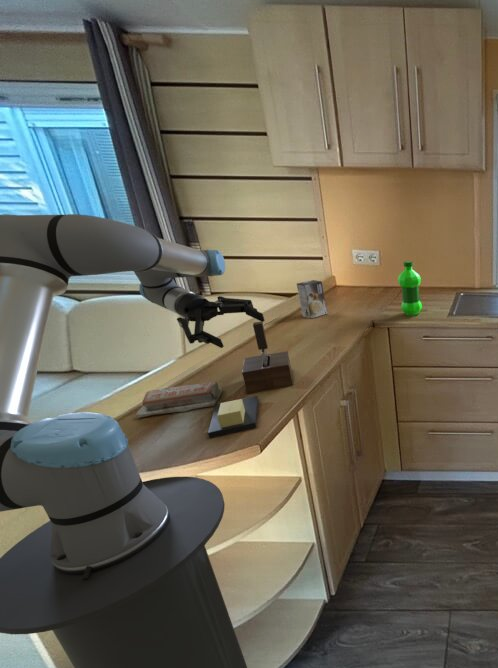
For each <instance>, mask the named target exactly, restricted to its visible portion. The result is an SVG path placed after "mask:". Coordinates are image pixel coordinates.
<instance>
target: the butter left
mask: <svg viewBox="0 0 498 668" xmlns="http://www.w3.org/2000/svg"><path fill="white" fill-rule="evenodd" d="M231 401H232V400H228V401H223V403H222V402H220V403H221V404H220V408H219V412H218V415H217V416H218V419H219V423H220V426H221V428H223V427H228V426H232V423H231V419H230V415H229V411H230V406H231Z"/></svg>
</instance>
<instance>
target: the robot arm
mask: <svg viewBox="0 0 498 668" xmlns="http://www.w3.org/2000/svg"><path fill="white" fill-rule="evenodd" d="M124 272H125V273H126V272H133V273H134V275H135V276H136V277H137V279H138V281H139V282H140V284H139V294H140V295H141V296H142V297H143V298H144V299H146V300H147V301H149V302H150V303H152V304H154V305H157V306H160V307H161V308H164V309H166V310H168V311H170V312H172V313H175V314H177V315H179V316H181V317H177V318H176V321H177V323H178V325H179V327H180V328H182V330H183V332H184V334H185V337H186V339H187V341H188V343H189V344H194V343H195V342H196V341H197V343H198V344H202V343H204V344H207V345H208V344H212V345H214V346H216V347H218V348H220V349H223V348H224V344H223V341H222V339H221V338H219V337H217V336H215V335H213V334H211V333H209V332H207V331H206V330H205V331H204V326H205V322H208V321H210V320H211V319H213V318H216V317H217V316H224V315H225V314H241V313H245V315H247V316H248V317H251V318H253V319H255V320H257V321H258V322H263V323H264V322H265V317H264V314H263V313H262V312H260V311H258V309H257V308H256V307H254V304H253V301H252V300H251V299H243V298H231V297H225V296H222V295H219V296H217V297H216V298H217V299H216V300H215V301H210V300H209V299H206V297H204V296H202V295H199V294H197V293H195V292H193V291H191V290H189V289H186V288H184V287H181V286H179V285H178V284H177V283H176V281H175V279H176V278H179V279H180V278H199V277H200V278H201V277H215V276H216V277H217V276H222V275H224V274H225V272H226V262H225V258H224V255H223V254H222V252H221V251H220V250H218V249H197V248H193V247H190V246H187V245H184V244H180V243H177V242H173V241H171V240H166V239H163V238H160V237H157V236H156V235H155V234H154V233H153V232H151V231H150V230H148V229H146V228H142V227H139V226H137V225H133V224H129V223H126V222H122V221H119V220H115V219H109V218H106V217H101V216H94V215H90V214H81V213H80V214H78V213H77V214H76V213H70V214H23V215H22V214H20V215H19V214H9V213H3V214H2V213H1V214H0V513H1V512H7V511H14V510H21V509H25V508H31V507H38V506H39V507H40V506H41V507H42V508H43V509H44V512H45V513H46V515H47V517H48V519H49V521H51V523H52V532H51V548H50V556H51V561H52V563H53V565H54V567H55V568H56V570H57V571H58V572H60V573H63V574H66V575H82V574H84V575H83V578H82V580H87V579H89V576H90V573H93V572H96V571H100V570H103V569H106V568H109V567H111V566H114V565H116V564H118V563H120V562H123V561H125V560H127V559H128V558H130V557H132V556H134V555H135V554H137V553H139V552H140V551H142V550H143V549H145V548H146V547H147V546H149V545H150V544H151V543H152V542H153V541H155V540H156V539H157V538H158V537H159V536H160V535H161V534H162V532H163V531H164V530H165V528H166V527H167V525H168V522H169V518H170V516H169V512H168V510H167V507H166V505H165V504H164V503H163V502H162V501H161V500H160V499H159V498H158V497H157V496H156V495H154V494H153V493H152V492H151V491H150V490H149V489H148V488H147V487H145V486H144V485H143V482H144V481H143V480H142V478H141V474H140V472H139V469H138V466H137V464H136V461H135V459H134V456H133V453H132V451H131V448H130V446H129V440H128V437H127V435H126V434H125V433H124V431H123V430H122V428H121V426H120V423H119V422H118V421H117V420H116V419H114V418H113V417H112V416H110V415H107V414H104V413H99V412H93V411H91V412H89V411H87V412H85V411H84V412H82V411H81V412H70V413H64V414H59V415H57V416H55V417H46V418H43V419H40V420H37V421H34V422H33V421H32V420H30V419H29V418H28V416H29V411H30V406H31V402H32V397H33V392H34V388H35V383H36V378H37V375H38V370H39V364H40V360H41V357H42V356H41V355H42V351H43V346H44V342H45V337H46V332H47V327H48V323H49V319H50V314H51V309H52V305H53V300H54V297H55V298H56V297H58V296H61V295H63V294H64V293H66V291H67V289H68V285H69V281H70V278H71V277H82V276H83V277H84V276H86V277H87V276H99V275H106V274H115V273H124ZM190 322H194V331H193V332H194V333H192V332H191V329H190V326H189V325H190Z"/></svg>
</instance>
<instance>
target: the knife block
mask: <svg viewBox="0 0 498 668" xmlns="http://www.w3.org/2000/svg"><path fill="white" fill-rule="evenodd" d="M267 354H268V359H269V363H270V365H269V366H266V367H265V366H264V362H263V357H262V354H261V355H255V356H249V357H244V360H243V366H242V370H241V374H242V378H243V383H244V386H245V389H246V393H247V394H253V393H258V392H263V391H269V390H274V389H279V388H284V387H285V388H286V387H289V386H290V387H291V386H294V381H293V371H292V366H291V361H290V355H289V351H281V352H274V353H267Z"/></svg>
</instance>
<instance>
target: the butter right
mask: <svg viewBox="0 0 498 668" xmlns="http://www.w3.org/2000/svg"><path fill="white" fill-rule="evenodd" d="M242 399H243V398H239V400H238V399H233V400H234V401H233V400H230V401H231V406H230V411H229V415H230V419H231V423H232V425H237V424H242V423H243V422H244V415H245V408H244V404H243V400H242Z"/></svg>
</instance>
